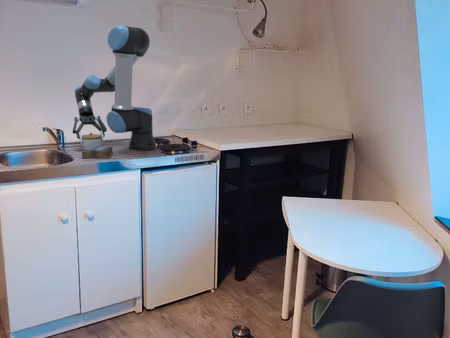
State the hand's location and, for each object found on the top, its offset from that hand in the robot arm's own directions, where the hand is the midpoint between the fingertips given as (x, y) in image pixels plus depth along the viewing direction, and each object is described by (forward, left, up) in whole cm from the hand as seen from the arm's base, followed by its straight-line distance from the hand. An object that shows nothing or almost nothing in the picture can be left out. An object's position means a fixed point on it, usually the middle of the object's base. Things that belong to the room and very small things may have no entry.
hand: (92, 142), depth 223 cm
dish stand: (-5, +12, -5) cm, 14 cm away
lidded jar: (+1, -3, -5) cm, 6 cm away
